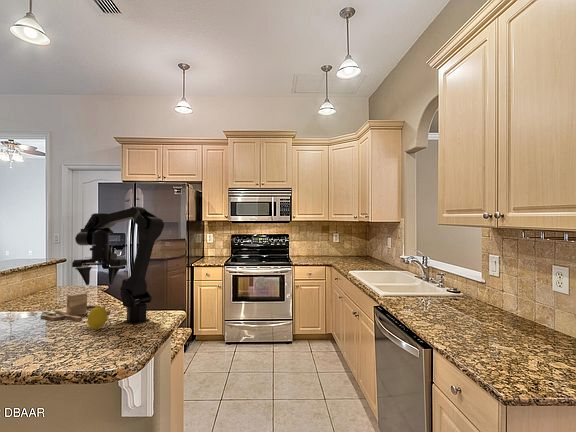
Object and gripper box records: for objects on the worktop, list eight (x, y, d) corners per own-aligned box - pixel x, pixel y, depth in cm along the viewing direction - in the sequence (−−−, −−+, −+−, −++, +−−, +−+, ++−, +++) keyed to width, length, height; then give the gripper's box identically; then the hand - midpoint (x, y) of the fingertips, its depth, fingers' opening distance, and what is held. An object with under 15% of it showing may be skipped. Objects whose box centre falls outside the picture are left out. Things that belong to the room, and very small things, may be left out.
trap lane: (118, 311, 126) (118, 308, 126) (67, 323, 108) (67, 320, 108) (83, 306, 136) (83, 303, 136) (31, 316, 118) (31, 313, 118)
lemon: (110, 327, 104) (111, 304, 105) (98, 332, 99) (99, 307, 99) (95, 327, 105) (96, 303, 105) (82, 332, 99) (84, 307, 100)
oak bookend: (86, 313, 124) (87, 293, 125) (70, 316, 119) (72, 295, 119) (69, 310, 129) (70, 291, 129) (53, 313, 123) (55, 293, 124)
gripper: (134, 244, 129) (133, 281, 127) (90, 245, 129) (89, 282, 127) (119, 244, 117) (118, 285, 116) (71, 245, 118) (70, 286, 116)
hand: (99, 284), depth 119 cm, fingers open, 9 cm apart
